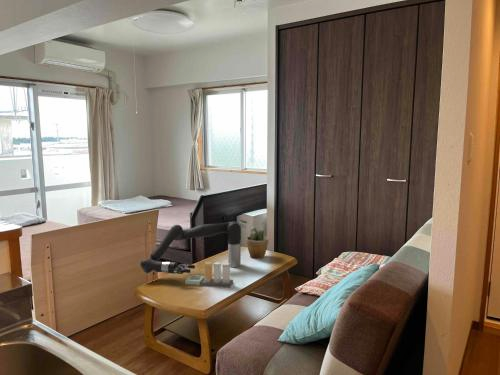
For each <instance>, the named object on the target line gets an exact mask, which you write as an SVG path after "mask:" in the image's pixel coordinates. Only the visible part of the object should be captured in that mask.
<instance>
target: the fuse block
mask: <svg viewBox="0 0 500 375" xmlns="http://www.w3.org/2000/svg"><path fill="white" fill-rule="evenodd" d="M233 284H234V279H232V278H230V282H229V283H228V280H223V278H221V281H220V282H219V279H214V277H212V281H211V282H210V279H207V278H206V279H204V280H203V281H202V284H201V287H202V286H203V287H205V286H206V287H215V288H231V286H232V285H233Z"/></svg>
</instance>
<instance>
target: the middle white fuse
mask: <svg viewBox="0 0 500 375" xmlns="http://www.w3.org/2000/svg"><path fill="white" fill-rule="evenodd" d="M213 278H214V279H219V282H220V281H221V279H222V263H221V262H217V261H216V262H214V263H213Z"/></svg>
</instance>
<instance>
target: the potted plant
mask: <svg viewBox="0 0 500 375" xmlns="http://www.w3.org/2000/svg"><path fill="white" fill-rule="evenodd" d="M264 234H265V229H264V228H262V227H261V228H259V230H257V227H256V226H252V227H251V228H250V236H246V238H245V241H246V242H245V243H246V246H247V250H248V253H249V257H250V259H253V260H262V259H264V258H265V255H266V253H267V248H268V245H269V240H270V239H269V237H268V236H266V235H265V236H264Z"/></svg>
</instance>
